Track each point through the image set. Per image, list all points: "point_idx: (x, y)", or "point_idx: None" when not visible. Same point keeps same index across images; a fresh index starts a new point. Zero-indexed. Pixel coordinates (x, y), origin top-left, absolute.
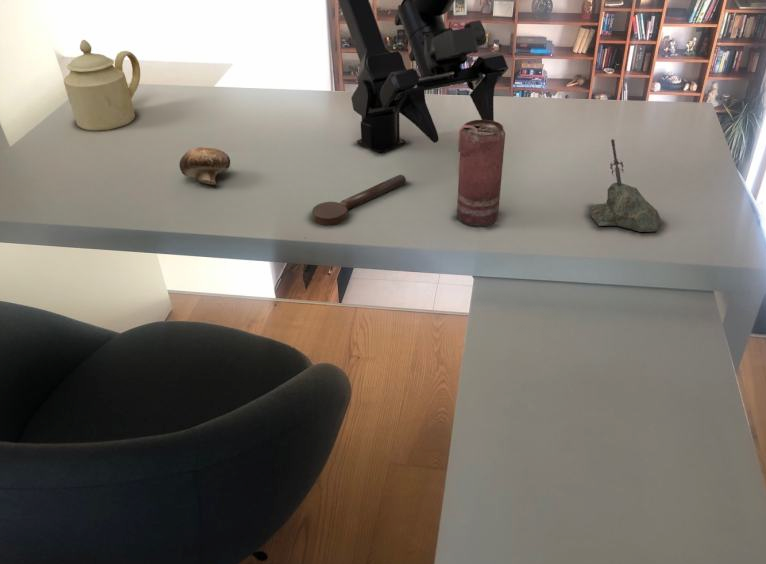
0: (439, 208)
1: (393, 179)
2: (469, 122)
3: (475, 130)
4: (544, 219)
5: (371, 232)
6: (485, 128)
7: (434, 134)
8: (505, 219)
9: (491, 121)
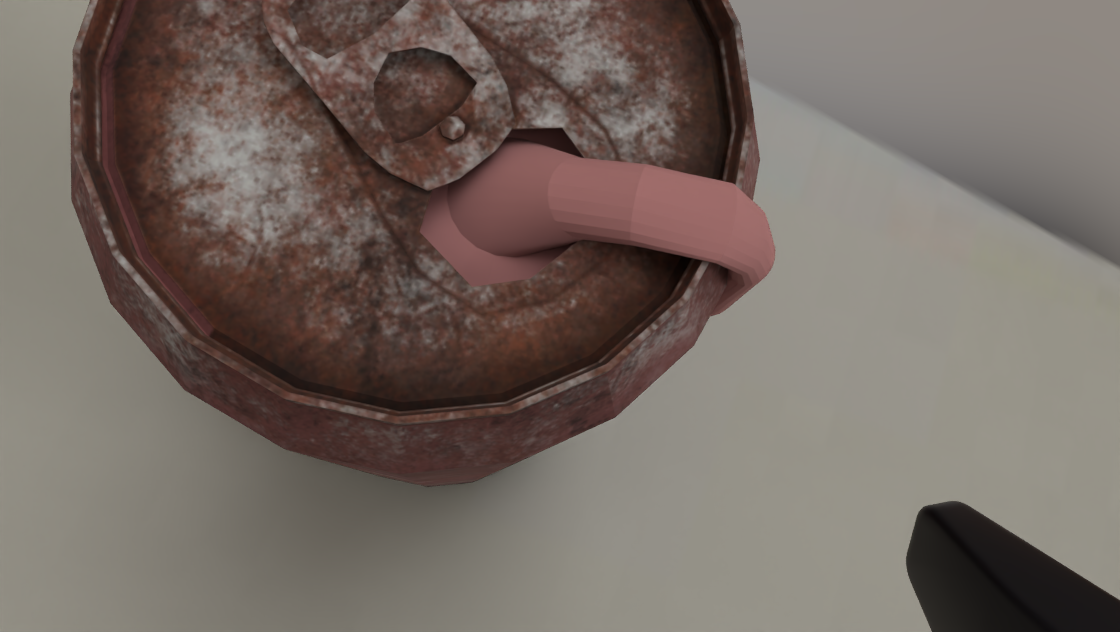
0: (627, 561)
1: None
2: (552, 386)
3: (558, 115)
4: (26, 178)
5: (1104, 407)
6: (371, 128)
7: (1014, 535)
8: None
9: (154, 292)
